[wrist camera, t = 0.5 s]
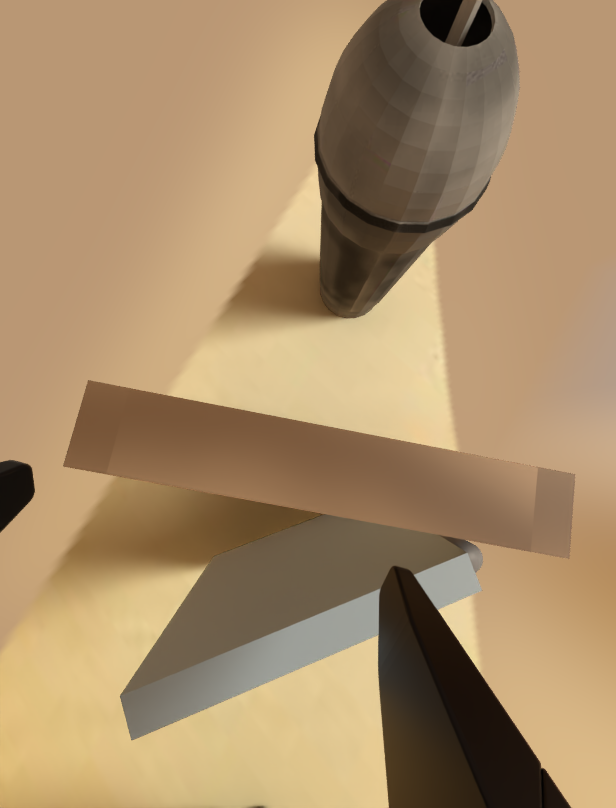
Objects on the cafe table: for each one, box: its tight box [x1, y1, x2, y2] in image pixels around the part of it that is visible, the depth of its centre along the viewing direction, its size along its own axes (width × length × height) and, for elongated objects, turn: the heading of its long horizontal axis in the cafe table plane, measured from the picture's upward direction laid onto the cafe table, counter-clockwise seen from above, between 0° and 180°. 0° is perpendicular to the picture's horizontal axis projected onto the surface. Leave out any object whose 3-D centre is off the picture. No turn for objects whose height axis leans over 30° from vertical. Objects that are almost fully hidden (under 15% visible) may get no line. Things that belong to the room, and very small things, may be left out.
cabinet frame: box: [63, 380, 575, 559], centre depth 16 cm, size 2×15×13 cm, turn 79°
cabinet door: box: [120, 514, 483, 740], centre depth 15 cm, size 2×12×11 cm, turn 109°
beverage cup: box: [314, 0, 520, 318], centre depth 14 cm, size 7×7×20 cm
